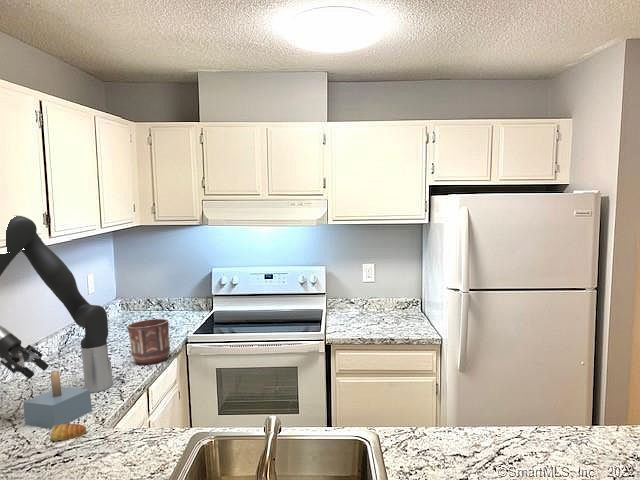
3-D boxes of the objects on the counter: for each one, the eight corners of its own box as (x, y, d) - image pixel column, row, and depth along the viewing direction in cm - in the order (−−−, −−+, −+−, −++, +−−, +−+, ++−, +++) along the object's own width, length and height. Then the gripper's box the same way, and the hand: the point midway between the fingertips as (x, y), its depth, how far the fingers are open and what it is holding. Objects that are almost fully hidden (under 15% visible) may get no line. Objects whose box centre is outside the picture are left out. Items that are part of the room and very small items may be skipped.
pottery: (154, 353, 230) (151, 317, 229) (179, 356, 221) (175, 319, 220) (123, 365, 215) (119, 326, 214) (148, 368, 206) (144, 328, 205)
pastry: (88, 428, 147) (87, 417, 146) (82, 438, 140) (81, 426, 140) (56, 434, 145) (54, 422, 144) (48, 444, 138) (47, 431, 138)
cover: (63, 407, 166) (58, 364, 166) (92, 410, 161) (87, 366, 160) (25, 424, 153) (20, 378, 153) (55, 428, 148) (50, 380, 147)
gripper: (-6, 338, 148) (34, 370, 149) (21, 328, 162) (58, 357, 163) (-21, 356, 148) (19, 388, 149) (7, 344, 162) (44, 373, 163)
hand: (39, 372), depth 156 cm, fingers open, 8 cm apart
